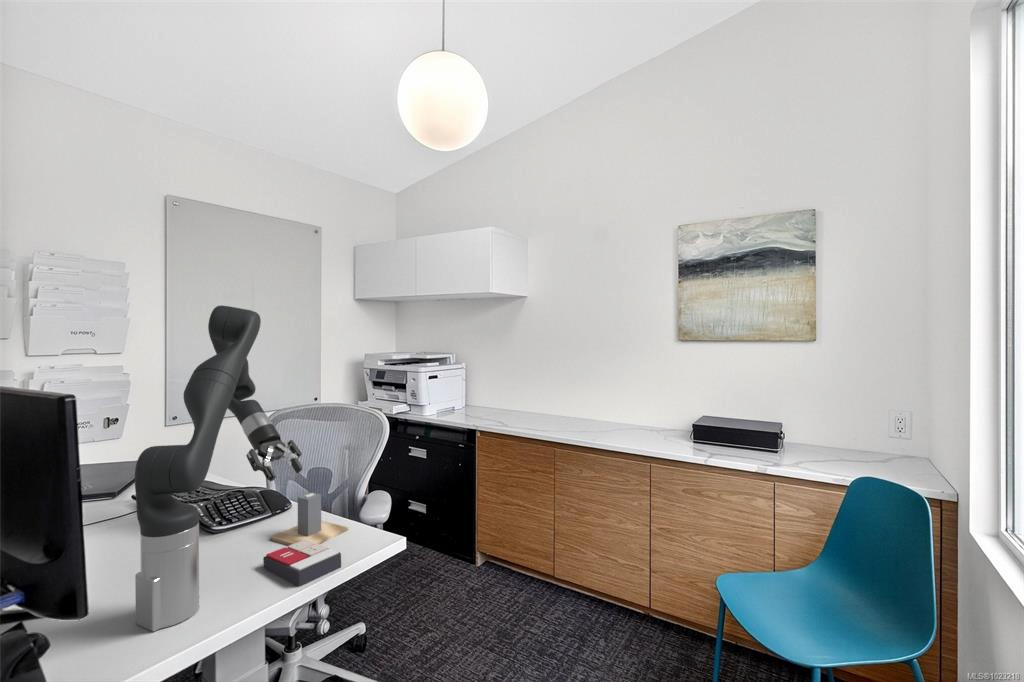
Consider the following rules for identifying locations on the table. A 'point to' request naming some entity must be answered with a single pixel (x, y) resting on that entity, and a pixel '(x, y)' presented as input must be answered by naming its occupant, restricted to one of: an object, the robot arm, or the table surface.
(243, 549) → the table surface
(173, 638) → the table surface
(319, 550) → the red-tabbed grey slab
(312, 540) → the cork coaster
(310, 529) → the block
